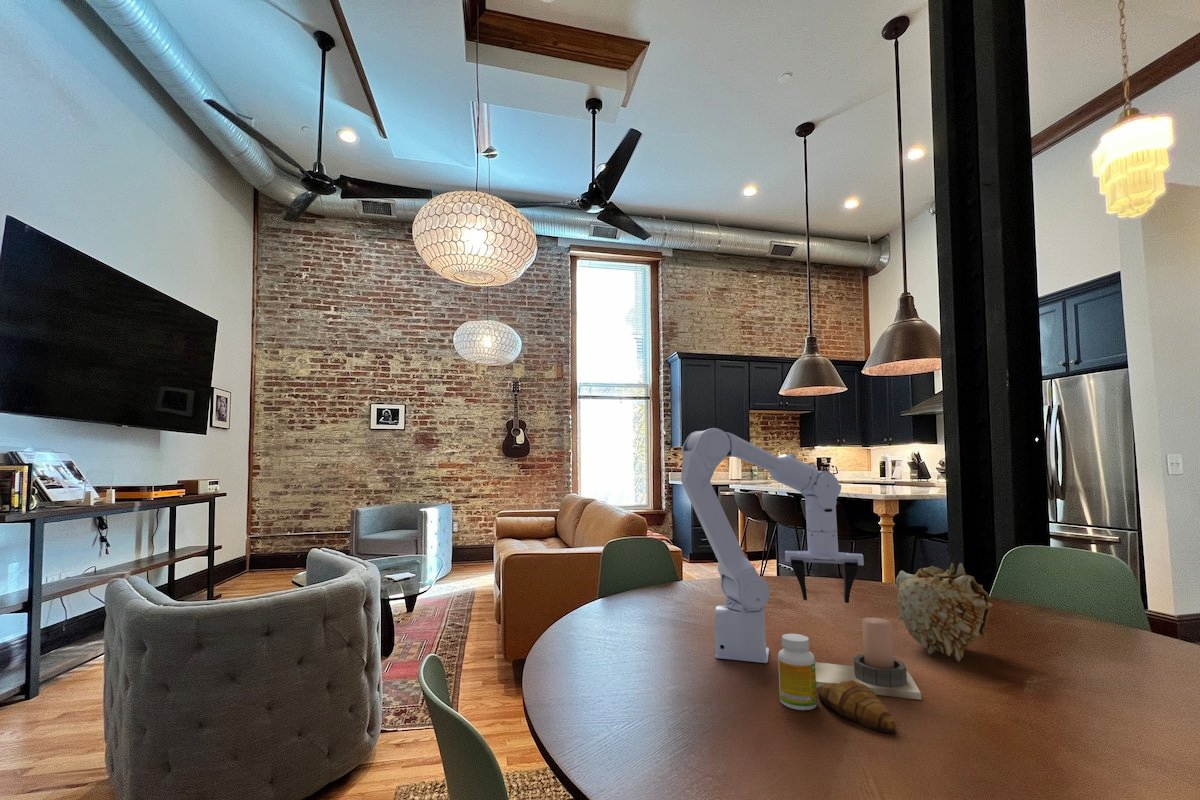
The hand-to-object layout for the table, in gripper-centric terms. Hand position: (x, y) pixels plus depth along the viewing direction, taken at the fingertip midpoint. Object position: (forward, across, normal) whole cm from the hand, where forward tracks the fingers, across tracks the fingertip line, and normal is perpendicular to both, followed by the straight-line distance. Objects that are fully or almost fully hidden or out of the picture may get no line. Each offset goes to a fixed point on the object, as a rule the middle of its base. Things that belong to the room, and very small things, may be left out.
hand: (825, 600), depth 109 cm
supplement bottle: (+10, -6, -28) cm, 30 cm away
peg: (+8, +7, -16) cm, 19 cm away
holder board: (+9, +2, -16) cm, 19 cm away
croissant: (+10, +2, -29) cm, 31 cm away
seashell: (+10, +22, +6) cm, 25 cm away
